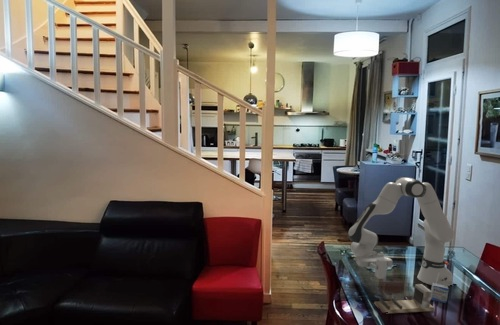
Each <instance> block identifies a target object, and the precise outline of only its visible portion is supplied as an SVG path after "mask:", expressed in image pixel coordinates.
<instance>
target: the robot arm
mask: <svg viewBox="0 0 500 325" xmlns="http://www.w3.org/2000/svg"><path fill="white" fill-rule="evenodd" d="M403 196H405V197H410V198H413V199H415V198H416V200H417V203H418V206H419V208H420V212H421V214H422V215H423V217H424V220H423V223H422V224H423V225H422V226H423V228H424V251H423V255H422V258H421V267H420V269H419V271H418V274H417V277H416V279H417V280H419V281H421V283H424V284H427V285H429V286H432V283H436V284H441V285H445V286H448V287H451V286H450V285H452V279H453V278H454V277H453V276H454V275H453V273H452V272H451V270H449V268H447V267H446V266H449V265H450V263H449V261H445V260H444V258H445V252H446V247H445V243H450V242H452V241H453V240H454V239H455V236H456V235H455V231H454V229H453V228H452V226H451V224H450V222H449V220H448V218H447V216H446V214H445V213H444V211H443V209H442V207H441V204H440V200H439V198H438V195H437V193H436V190H435V189H434V187H433V185H432V184H431V183H429V182H427V181H426V182H424V181H422V182H421V181H420V180H418V179H415V178H414V177H413V178H412V177H407V176H400V177H398V178H397V179H395V180H394V181H393V182H391V181H390V182H387V183H386V184H385V185H384V186H383V187H382V189H381V191H380V193H379V194H378V196H377V198H376V199H375V200H374V201H373V202H370V203H368V204H367V206H366V207H365V208H364V209H363V211H362V212H361V214H360V215H359V217H358V218H357V220H356V221H355V222H354V223H353V224H352V226H351V227H349V229H348V232H347V237H348V238H349V241H350V242H352V243H351V244H350V250H351V253H352V254H353V256H354V257H353V261H355V263H356V264H357V266H358V267H360V268H372V269H374V270H375V269H378V266H377V265H376V260H377V258H384V259H385V260H386V261H387V268H386V270H388V268H391V267H392V266H393V259H392V258H390V256H388V255H386V254H384V252H383V251H377V250H375V249H376V247H377V246H378V244H379V237H378V234H377V233H375V232H373V231H371V230H368V229H367V228H364V227H365V226H366V225H367V223H368V221H370V219H371V218H372V217H373V216H375V215H376V216H377V215H389V214H391V213H392V212H393V211H394V209H395V208H396V207H397V204H398V201H399V200H400V199H401V197H403ZM453 280H454V279H453ZM452 286H453V285H452Z"/></svg>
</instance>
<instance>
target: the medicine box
mask: <svg viewBox="0 0 500 325" xmlns="http://www.w3.org/2000/svg"><path fill="white" fill-rule="evenodd" d="M430 291H432V294H431V300H430V301H433V302H439V303H443V304H447V302H448V295H449V291H450V288H449V286H445V285H441V284H436V283H432V285H431V289H430Z"/></svg>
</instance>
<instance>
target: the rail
mask: <svg viewBox="0 0 500 325" xmlns="http://www.w3.org/2000/svg"><path fill="white" fill-rule="evenodd" d="M431 294H432V291H431V289H429V288H428V287H426V286H425V285H424V284H422V283H417V284H415V285H414V289H413V296H412V299H402V300H400V299H399V300H396V299H395V298H394V297H391V300H384V299H383V298H379V300H378V301H373V305H374V304H375V305H376V306H377V307H379V308H380V309H381V310H382V311H383V312H388V313H387V314H399V313H400V314H401V313H402V314H403V313H418V312H422V313H423V312H434V310H435V307H434V306H433V305H432V304H431V301H432V300H431Z"/></svg>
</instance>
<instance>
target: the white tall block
mask: <svg viewBox="0 0 500 325" xmlns="http://www.w3.org/2000/svg"><path fill="white" fill-rule="evenodd" d="M376 265H377V266H378V269H374V277H376V279H378V280H383V279H384V280H385V279H386V277H387V276H386V274H387V269H388V268H387V261H386V260H385V259H384V258H377V260H376ZM386 268H387V269H386Z"/></svg>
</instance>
